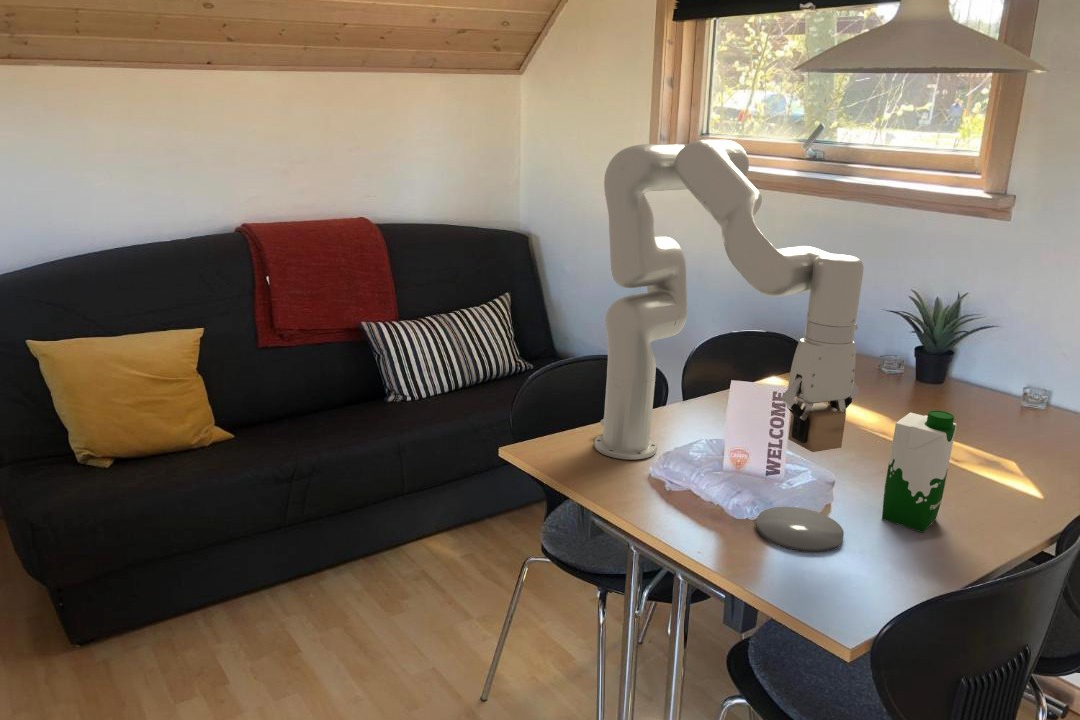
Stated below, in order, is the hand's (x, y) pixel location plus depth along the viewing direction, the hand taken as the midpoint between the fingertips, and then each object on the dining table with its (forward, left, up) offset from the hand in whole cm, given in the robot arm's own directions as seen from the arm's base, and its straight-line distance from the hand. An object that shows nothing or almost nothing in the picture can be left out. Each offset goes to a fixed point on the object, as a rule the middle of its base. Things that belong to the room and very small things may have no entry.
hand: (815, 436), depth 148 cm
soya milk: (+4, +19, -16) cm, 25 cm away
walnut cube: (0, 0, -1) cm, 1 cm away
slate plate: (+2, -3, -16) cm, 16 cm away
